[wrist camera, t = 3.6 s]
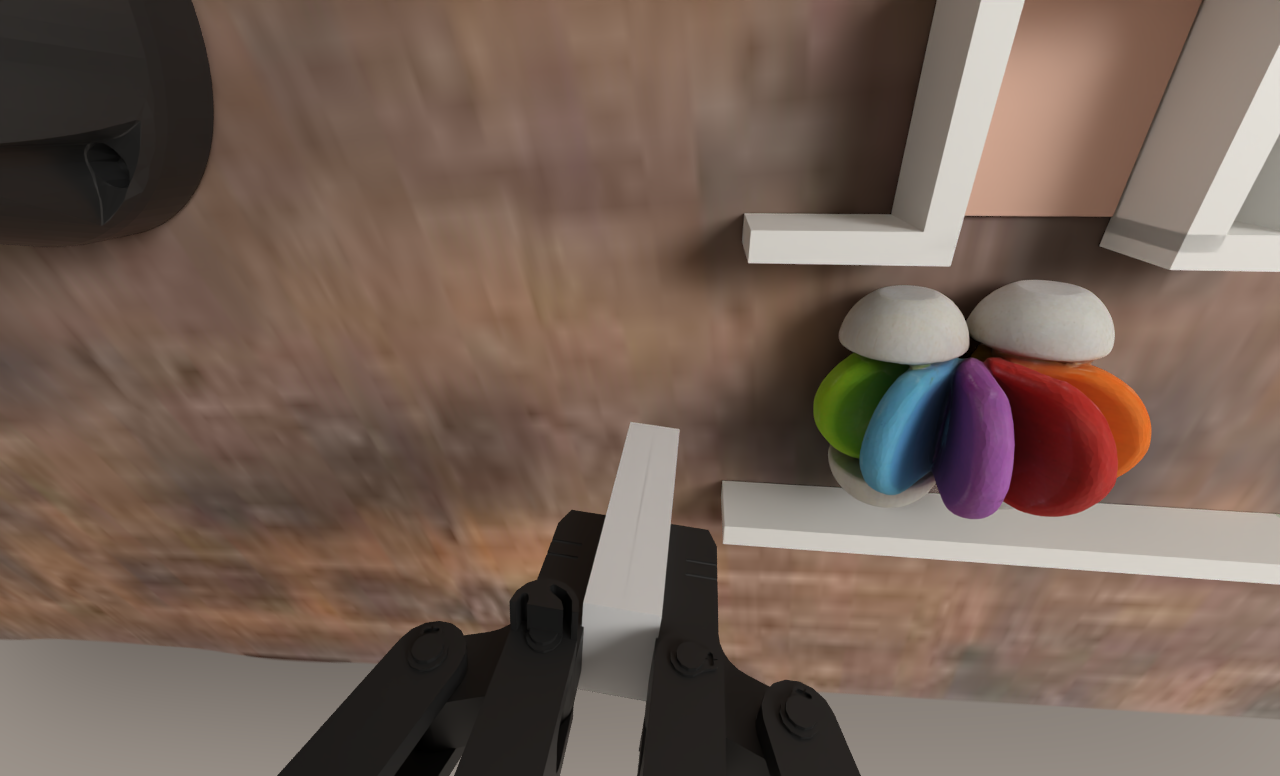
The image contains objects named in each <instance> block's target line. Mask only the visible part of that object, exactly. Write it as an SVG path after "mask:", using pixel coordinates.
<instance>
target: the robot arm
mask: <svg viewBox="0 0 1280 776" xmlns="http://www.w3.org/2000/svg"><path fill="white" fill-rule="evenodd" d="M212 134H213V93H212V82H211V75H210V68H209V63H208V58H207V53H206V48H205V44H204V40H203V36H202V32H201V29H200V25H199V22H198V19H197V16H196V13H195V9H194V6H193V3H192V1H191V0H0V244H6V245H20V246H35V247H64V246H76V245H84V244H89V243H94V242H98V241H103V240H108V239H113V238H118V237H122V236H127V235H132V234H136V233H140V232H144V231H147V230H149V229H152V228H154V227H156V226H158V225H160V224H162V223H164V222H165V221H167V220H168V219H170V218H171V217H172V216H174V215H175V214H176V213H177V212H178V211H179V210H180V209H181V208H182V207H183V206H184V205H185V204H186V203H187V202H188V200H189V199H190V198H191V196H192V195H193V193H194V191H195V190H196V188H197V186H198V185H199V182H200V180H201V178H202V176H203V173H204V170H205V167H206V164H207V161H208V157H209V152H210V148H211V141H212ZM679 431H680V429H675V428H668V427H661V426H655V425H648V424H641V423H634V422H630V426H629V430H628V434H627V437H626V441H625V445H624V449H623V453H622V457H621V460H620V464H619V468H618V472H617V476H616V479H615V483H614V487H613V491H612V495H611V499H610V502H609V506H608V510H607V514H606V515H601V514H595V513H588V512H582V511H575V510H571V511H570V512H569V513H568V514H567V515H566V516H565V517H564V518H563V519H562V520H561V521H560V522H559V523H558V526H557V528H556V531H555V534H554V536H553V540H552V542H551V544H550V547H549V550H548V553H547V555H546V558H545V560H544V563H543V566H542V568H541V571H540V574H539V576H538V579H537V580H535V581H532V582H529V583H527V584H525V585H524V586H522V587H521V588H520V589H518V590H517V591H516V592H515V594H514V595H513V597H512V598H511V600H510V625H508V626H506V627H503V628H501V629H499V630H495V631H491V632H486V633H478V634H471V635H463V633H462V631H461V630H460V629H459V628H457V627H456V626H455V625H453V624H451V623H447V622H442V621H436V622H429V623H424V624H422V625H420V626H418V627H415V628H413V629H411V630H410V631H409V632H408V633H407V634H405V635H404V636H403V637H402V638H401V639H400V640H399V641H398V642H397V643H396V644H395V645H394V646H393V647H392V648H391V650H390V651H389V652H388V653H387V654H386V655H385V656H384V657H383V659H382V660H381V661H380V662H379V663H378V664H377V665H376V666H375V668H374V669H373V670H372V671H371V672H370V673H369V674H368V675H367V677H365V679H364V680H363V681H362V682H361V683H360V684H359V685H358V686H357V688H356V689H355V690H354V691H353V692H352V693H351V694H350V695H349V696H348V698H347V699H346V700H345V701H344V702H343V703H342V704H341V705H340V706H339V708H338V709H337V710H336V711H335V712H334V713H333V714H332V715H331V716H330V718H329V719H328V720H327V721H326V722H325V723H324V724H323V726H321V728H320V729H319V730H318V731H317V732H316V733H315V734H314V735H313V736H312V738H311V739H310V740H309V741H308V742H307V743H306V744H305V745H304V747H303V748H302V749H301V750H300V751H299V752H298V753H297V754H296V755H295V757H294V758H293V759H292V760H291V761H290V762H289V763H288V764H287V765H286V767H285V768H284V769H283V770H282V771H281V772H280V773H279V774H278V775H277V776H449V775H450V774H451V772H452V770H453V769H454V767H455V765H456V764H457V762H458V761H459V759H460V758H461V759H460V762H459V765H458V767H457V770H456V772H455V775H454V776H560V773H561V768H562V764H563V759H564V755H565V751H566V746H567V742H568V737H569V732H570V728H571V724H572V720H573V705H574V700H575V695H576V691H577V687H578V689H580V690H586V691H592V692H597V693H603V694H609V695H614V696H620V697H625V698H631V699H637V700H642V701H646V710H645V717H644V723H643V729H642V735H641V741H640V747H639V751H640V755H639V765H638V774H637V776H861V775H860V773H859V770H858V768H857V766H856V764H855V761H854V759H853V757H852V754H851V752H850V750H849V748H848V745H847V743H846V741H845V738H844V736H843V733H842V731H841V729H840V727H839V724H838V722H837V720H836V717H835V715H834V713H833V711H832V710H831V708H830V707H829V705H828V703H827V702H826V700H825V699H824V698H823V697H822V696H820V694H818V693H817V692H816V691H815V690H814V689H813V688H811V687H809V686H807V685H805V684H803V683H801V682H798V681H790V680H783V681H780V682H776V683H773V684H772V685H771V686H770V687H769V686H767V685H765V684H763V683H761V682H759V681H757V680H755V679H754V678H752V677H750V676H748V675H746V674H745V673H743V672H741V671H740V670H738V669H737V668H736V667H735V666H734V665H733V664H732V663H731V662H730V661H729V660H728V658H727V657H726V655H725V654H724V652H723V650H722V647H721V645H720V642H719V635H718V589H717V546H716V544H715V542H714V540H713V538H712V536H711V534H710V532H709V530H705V529H699V528H692V527H686V526H679V525H673V524H671V515H672V504H673V494H674V483H675V473H676V463H677V452H678V442H679ZM461 756H462V757H461Z"/></svg>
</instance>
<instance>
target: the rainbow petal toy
mask: <svg viewBox="0 0 1280 776" xmlns="http://www.w3.org/2000/svg"><path fill="white" fill-rule="evenodd" d="M969 335H970V336H971V337H972V338H973V339H974V340H976V341H978V342H981V343H982V344H984V345H979V346H977V349H976V350H975V351H974V352H973V353H972V354H971V357H970V358H965V359H960V358H958V357H959V356H961V355H963V354H964V353H966V352H967V350H968V348H969ZM1114 338H1115V332H1114V325H1113V321H1112V318H1111V316H1110V314H1109V312H1108V310H1107V308H1106V307H1105V305H1104V304H1103V303H1102V302H1101V300H1100V299H1099V298H1098V297H1096V296H1095V295H1094V294H1093V293H1092V292H1090V291H1089V290H1087V289H1084V288H1082V287H1080V286H1077V285H1073V284H1069V283H1063V282H1057V281H1047V280H1022V281H1017V282H1013V283H1010V284H1008V285H1005V286H1003V287H1001V288H999V289H997V290H995V291H993V292H992V293H991V294H989V295H988V296H986V297H985V298H984V299H983V300H981V301H980V302H979V304H978V305H977V306H976V307H975V308H974V310H973V311H972V312H971V314H970V316H969V317H968V319H967V320H966V321H965V319H964V317H963V315H962V313H961V311H960V310H959V309H958V307H957V306H956V305H955V304H954V302H953V301H951V300H950V299H949V298H948V297H946V296H945V295H943V294H942V293H940V292H938V291H936V290H933V289H929V288H925V287H920V286H910V285H897V286H888V287H883V288H880V289H877V290H875V291H873V292H871V293H869V294H868V295H866V296H865V297H863V298H862V299H860V300H859V301H858V302H857V303H856V304H855V305H854V306H853V307H852V308H851V310H850V311H849V312H848V314H847V315H846V317H845V319H844V321H843V323H842V325H841V328H840V331H839V340H840V342H841V344H842V345H843V346H845V347H846V348H847V349H849V350H851V351H852V352H854V353H852V354H851V355H850V356H848V357H847V358H845V359H844V360H843V361H841V362H840V363H839V364H838V365H837V366H836V367H835V368H833V369H832V371H831V372H830V373H829V374H828V375H827V376H826V377H825V379H824V380H823V381H822V383H821V384H820V386H819V388H818V390H817V392H816V395H815V398H814V404H813V414H814V419H815V423H816V425H817V427H818V429H819V431H820V432H821V433H822V435H823V436H824V437H825V439H826V440H827V441H828V442H829V443H830V447H829V450H828V460H829V465H830V468H831V471H832V473H833V475H834V477H835V479H836V480H837V482H838V483H839V485H840V486H841V487H842V488H843V489H844V490H845V491H846V492H847V493H848V494H850V495H851V496H852V497H854V498H855V499H857V500H859V501H861V502H863V503H866V504H869V505H872V506H877V507H884V508H893V507H901V506H905V505H908V504H911V503H913V502H915V501H917V500H919V499H921V498H922V497H923V496H925V495H926V494H927V493H928V492H929V491H930V490H931V489H932V487H933V486H934V485H935V483H936V484H937V487H938V490H939V493H940V495H941V498H942V500H943V503H944V505H945V506H946V508H947V509H948V510H949V511H951V512H952V513H953V514H955V515H957V516H959V517H962V518H966V519H982V518H986V517H988V516H990V515H992V514H994V513H995V512H996V511H997V510H998V509H1014V508H1015V509H1017V510H1019V511H1022V512H1024V513H1028V514H1032V515H1036V516H1045V517H1060V516H1067V515H1072V514H1076V513H1079V512H1082V511H1084V510H1086V509H1088V508H1090V507H1092V506H1093V505H1095V504H1097V503H1098V502H1100V501H1101V500H1102V499H1103V498H1104V497H1105V496H1106V495H1107V494H1108V493H1109V492H1110V491H1111V489H1112V488H1113V486H1114V485H1115V482H1116V478H1117V477H1119V476H1121V475H1122V474H1124V473H1126V472H1128V471H1129V470H1130V469H1132V468H1133V467H1134V466H1135V465H1136V464H1137V463H1138V462H1139V461H1140V460H1141V459H1142V458H1143V457H1144V455H1145V454H1146V452H1147V450H1148V448H1149V445H1150V440H1151V423H1150V418H1149V415H1148V413H1147V410H1146V408H1145V406H1144V404H1143V402H1142V401H1141V399H1140V398H1139V396H1138V395H1137V394H1136V393H1135V391H1134V390H1133V389H1132V388H1131V387H1129V386H1128V385H1127V384H1126V383H1124V382H1123V381H1122V380H1120V379H1119V378H1117V377H1115V376H1114V375H1112V374H1110V373H1108V372H1107V371H1105V370H1103V369H1100V368H1098V367H1095V366H1093V365H1091V362H1093V361H1094V360H1096V359H1099V358H1103V357H1105V356H1106V355H1108V354H1109V353H1110V352H1111V350H1112V348H1113V344H1114Z"/></svg>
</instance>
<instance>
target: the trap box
mask: <svg viewBox="0 0 1280 776" xmlns="http://www.w3.org/2000/svg"><path fill="white" fill-rule="evenodd" d="M964 216H1083V217H1111V219H1110V221H1109V223H1108V226H1107V228H1106V231H1105V233H1104V235H1103V238H1102V240H1101V243H1100V245H1099V246H1100V247H1103V248H1106V249H1109V250H1112V251H1115V252H1118V253H1121V254H1124V255H1127V256H1130V257H1133V258H1136V259H1139V260H1142V261H1145V262H1148V263H1150V264H1153V265H1156V266H1159V267H1162V268H1165V269H1168V270H1204V271H1265V272H1280V0H937V2H936V6H935V11H934V16H933V20H932V25H931V30H930V34H929V39H928V44H927V48H926V53H925V58H924V62H923V67H922V72H921V76H920V81H919V86H918V91H917V95H916V100H915V105H914V109H913V114H912V119H911V123H910V128H909V133H908V137H907V142H906V147H905V151H904V156H903V161H902V165H901V170H900V175H899V179H898V184H897V189H896V193H895V198H894V203H893V207H892V212H891V214H770V213H744V223H743V235H742V244H743V247H744V251H745V254H746V257H747V261H748V263H773V264H834V265H896V266H951V262H952V259H953V255H954V251H955V248H956V244H957V241H958V237H959V234H960V230H961V226H962V223H963V219H964ZM721 507H722V530H723V544H733V545H747V546H760V547H774V548H788V549H801V550H815V551H829V552H842V553H856V554H870V555H883V556H897V557H911V558H925V559H938V560H952V561H966V562H979V563H993V564H1007V565H1020V566H1034V567H1048V568H1061V569H1075V570H1089V571H1102V572H1116V573H1130V574H1143V575H1157V576H1171V577H1184V578H1198V579H1212V580H1226V581H1239V582H1253V583H1267V584H1280V514H1268V513H1251V512H1235V511H1218V510H1201V509H1185V508H1168V507H1152V506H1135V505H1118V504H1102V503H1097V504H1095V505H1093V506H1092V507H1090V508H1088V509H1086V510H1084V511H1082V512H1079V513H1076V514H1072V515H1067V516H1060V517H1045V516H1036V515H1032V514H1028V513H1024V512H1022V511H1019V510H1017V509H1015V508H1014V509H998V510H997V511H996V512H995V513H994V514H992V515H990V516H988V517H986V518H982V519H966V518H962V517H959V516H957V515H955V514H953V513H952V512H951V511H949V510H948V509H947V508H946V506H945V505H944V503H943V500H942V498H941V495H940V494H936V493H927V494H926V495H925V496H923V497H922V498H921V499H919V500H917V501H915V502H913V503H911V504H908V505H905V506H901V507H893V508H884V507H877V506H872V505H869V504H866V503H863V502H861V501H859V500H857V499H855V498H854V497H852V496H851V495H850V494H848V493H847V492H846V491H845V490H844V489H843V488H837V487H820V486H803V485H787V484H770V483H754V482H737V481H722V492H721Z"/></svg>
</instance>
